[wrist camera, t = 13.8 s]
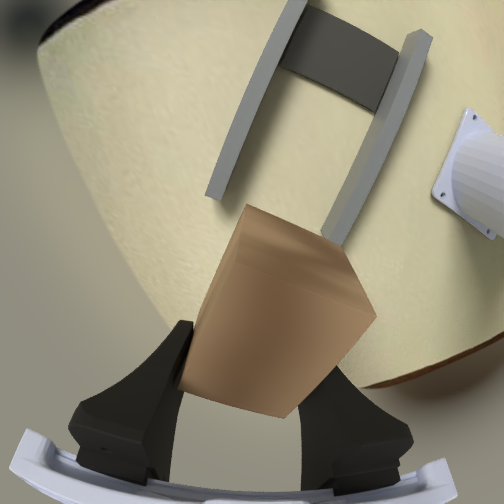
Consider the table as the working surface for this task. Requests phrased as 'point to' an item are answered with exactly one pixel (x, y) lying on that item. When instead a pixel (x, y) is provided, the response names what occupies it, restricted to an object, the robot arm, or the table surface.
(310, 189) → the table surface
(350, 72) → the channel
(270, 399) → the walnut block
